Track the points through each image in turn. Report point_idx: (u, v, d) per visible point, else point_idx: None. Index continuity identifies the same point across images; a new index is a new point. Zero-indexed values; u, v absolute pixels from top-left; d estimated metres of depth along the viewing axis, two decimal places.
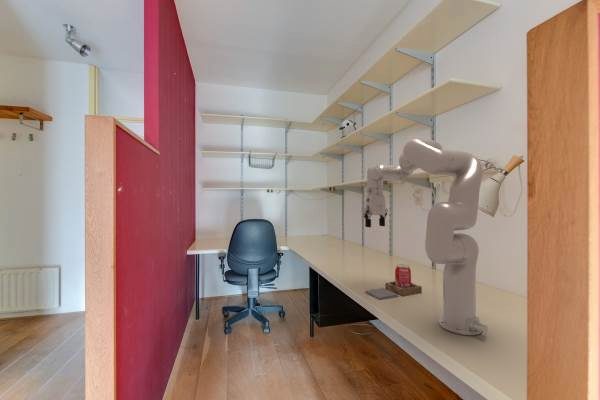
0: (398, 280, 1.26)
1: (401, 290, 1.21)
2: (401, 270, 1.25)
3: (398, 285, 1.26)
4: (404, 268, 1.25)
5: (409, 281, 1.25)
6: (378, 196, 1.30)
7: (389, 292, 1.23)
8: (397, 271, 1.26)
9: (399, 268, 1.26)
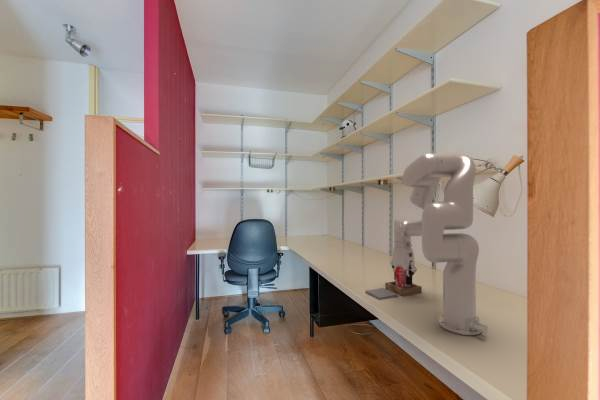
0: (398, 280, 1.26)
1: (401, 290, 1.21)
2: (401, 270, 1.25)
3: (398, 285, 1.26)
4: None
5: None
6: None
7: (389, 292, 1.23)
8: (397, 271, 1.26)
9: (399, 268, 1.26)
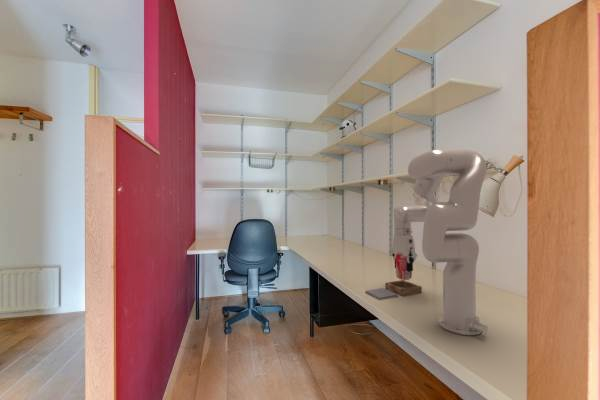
0: (398, 267, 1.25)
1: (401, 290, 1.21)
2: (401, 257, 1.25)
3: (399, 273, 1.25)
4: None
5: None
6: None
7: (389, 292, 1.23)
8: (397, 258, 1.26)
9: (399, 255, 1.26)
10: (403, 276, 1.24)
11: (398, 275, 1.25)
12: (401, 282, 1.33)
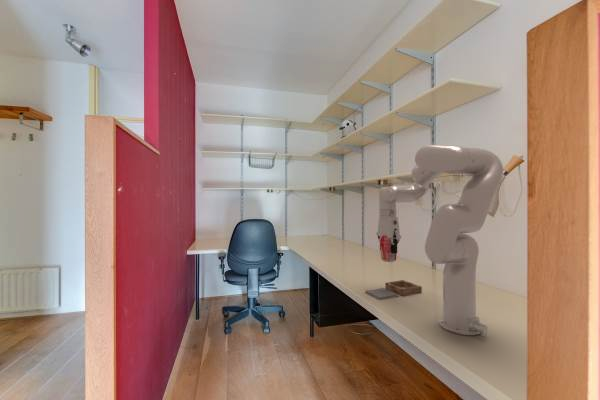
0: (382, 249, 1.23)
1: (401, 290, 1.21)
2: (386, 239, 1.22)
3: (383, 255, 1.22)
4: None
5: None
6: None
7: (389, 292, 1.23)
8: (382, 240, 1.23)
9: (384, 237, 1.23)
10: (387, 258, 1.21)
11: (382, 257, 1.23)
12: (401, 282, 1.33)
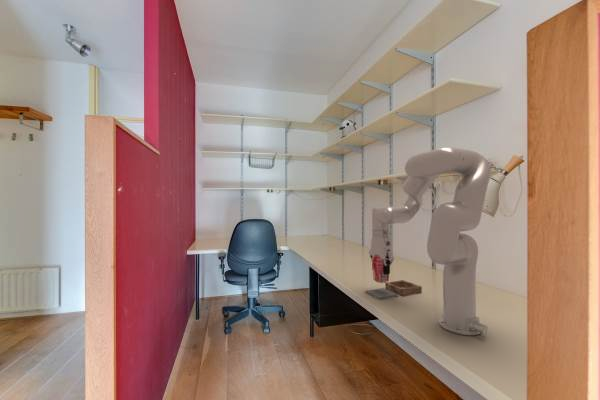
0: (375, 270, 1.21)
1: (401, 290, 1.21)
2: (378, 259, 1.20)
3: (375, 275, 1.21)
4: None
5: None
6: None
7: (389, 292, 1.23)
8: (374, 260, 1.21)
9: (376, 257, 1.21)
10: (380, 279, 1.20)
11: (375, 278, 1.21)
12: (401, 282, 1.33)
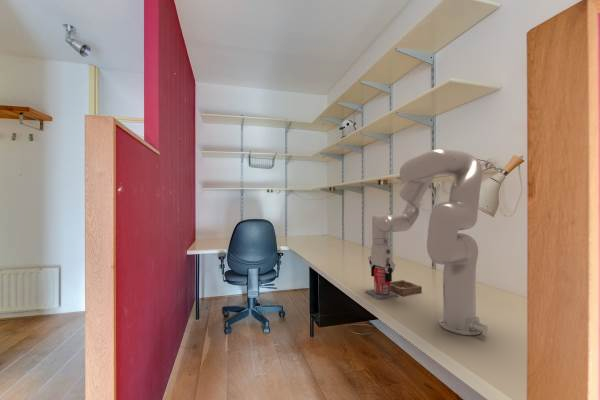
0: (376, 281, 1.20)
1: (401, 290, 1.21)
2: (379, 271, 1.19)
3: (376, 287, 1.20)
4: (383, 269, 1.19)
5: (388, 283, 1.19)
6: None
7: (389, 292, 1.23)
8: (375, 272, 1.21)
9: (377, 269, 1.20)
10: (381, 291, 1.19)
11: (376, 289, 1.21)
12: (401, 282, 1.33)
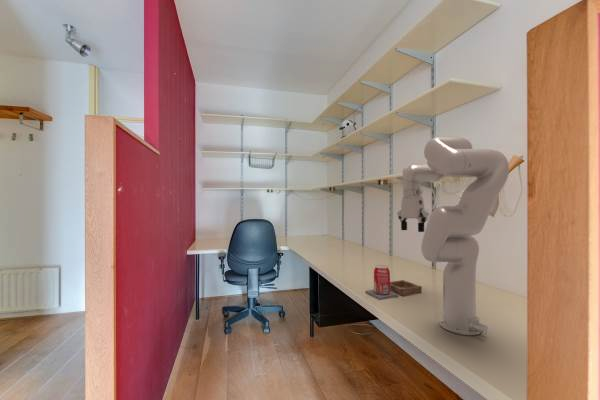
0: (376, 281, 1.20)
1: (401, 290, 1.21)
2: (379, 271, 1.19)
3: (376, 287, 1.20)
4: (382, 269, 1.19)
5: (388, 283, 1.19)
6: None
7: (389, 292, 1.23)
8: (375, 272, 1.21)
9: (377, 269, 1.20)
10: (381, 291, 1.19)
11: (376, 289, 1.21)
12: (401, 282, 1.33)
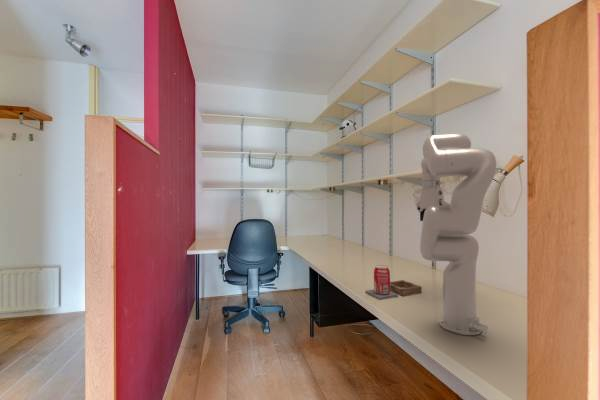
0: (376, 281, 1.20)
1: (401, 290, 1.21)
2: (379, 271, 1.19)
3: (376, 287, 1.20)
4: (382, 269, 1.19)
5: (388, 283, 1.19)
6: None
7: (389, 292, 1.23)
8: (375, 272, 1.21)
9: (377, 269, 1.20)
10: (381, 291, 1.19)
11: (376, 289, 1.21)
12: (401, 282, 1.33)
